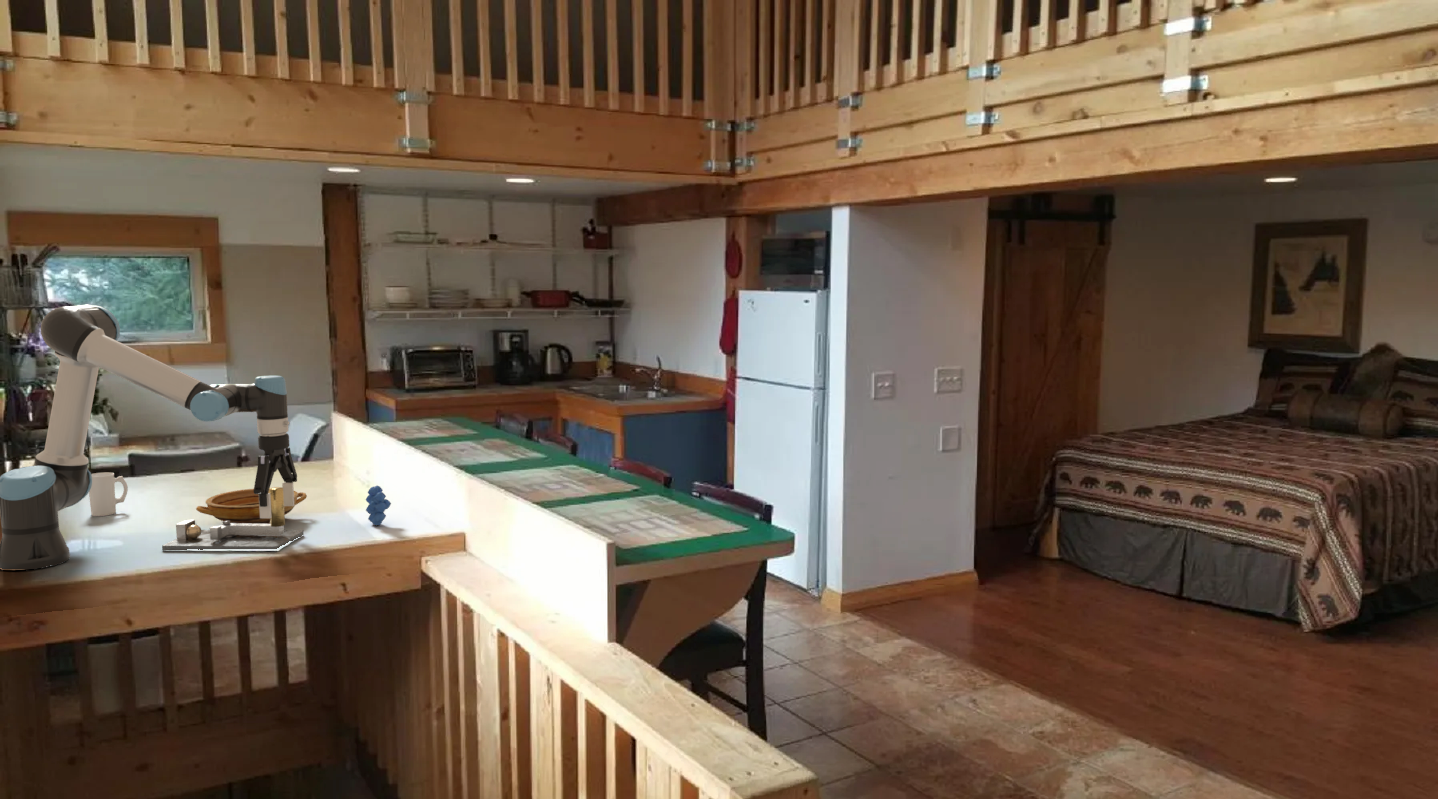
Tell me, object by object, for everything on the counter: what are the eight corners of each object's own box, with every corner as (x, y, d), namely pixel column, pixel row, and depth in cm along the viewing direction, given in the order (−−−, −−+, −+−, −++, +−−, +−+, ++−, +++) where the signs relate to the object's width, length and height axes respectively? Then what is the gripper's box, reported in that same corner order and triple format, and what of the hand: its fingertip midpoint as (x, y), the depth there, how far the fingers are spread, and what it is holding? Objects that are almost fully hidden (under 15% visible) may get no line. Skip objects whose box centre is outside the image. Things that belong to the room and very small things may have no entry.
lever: (272, 540, 259) (270, 494, 258) (210, 539, 260) (207, 493, 258) (287, 532, 268) (285, 487, 266) (227, 531, 268) (224, 486, 267)
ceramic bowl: (208, 541, 267) (206, 512, 266) (187, 523, 285) (186, 496, 284) (320, 523, 286) (319, 496, 285) (294, 508, 304) (293, 482, 303)
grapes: (399, 527, 282) (397, 486, 280) (375, 531, 277) (373, 489, 276) (385, 519, 291) (383, 479, 289) (361, 523, 287) (360, 482, 285)
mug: (91, 517, 291) (88, 477, 290) (88, 513, 297) (85, 474, 295) (131, 512, 298) (128, 473, 296) (127, 508, 303) (124, 470, 301)
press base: (277, 552, 257) (275, 531, 256) (162, 551, 257) (161, 530, 256) (303, 535, 272) (302, 516, 272) (195, 535, 273) (194, 515, 272)
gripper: (265, 441, 250) (269, 523, 253) (307, 426, 275) (311, 501, 278) (236, 441, 250) (240, 523, 253) (280, 426, 275) (284, 501, 278)
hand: (277, 512), depth 265 cm, fingers open, 13 cm apart
